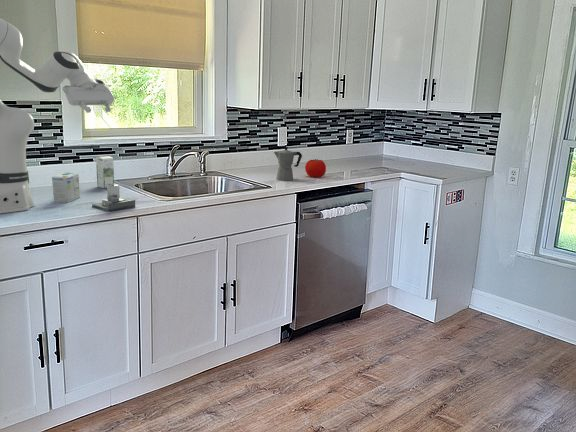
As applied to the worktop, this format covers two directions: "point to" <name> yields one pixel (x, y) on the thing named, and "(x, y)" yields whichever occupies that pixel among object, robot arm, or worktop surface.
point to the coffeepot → (286, 164)
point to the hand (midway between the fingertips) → (99, 111)
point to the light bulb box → (66, 187)
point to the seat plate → (115, 205)
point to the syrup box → (105, 171)
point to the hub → (112, 195)
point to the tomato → (315, 168)
